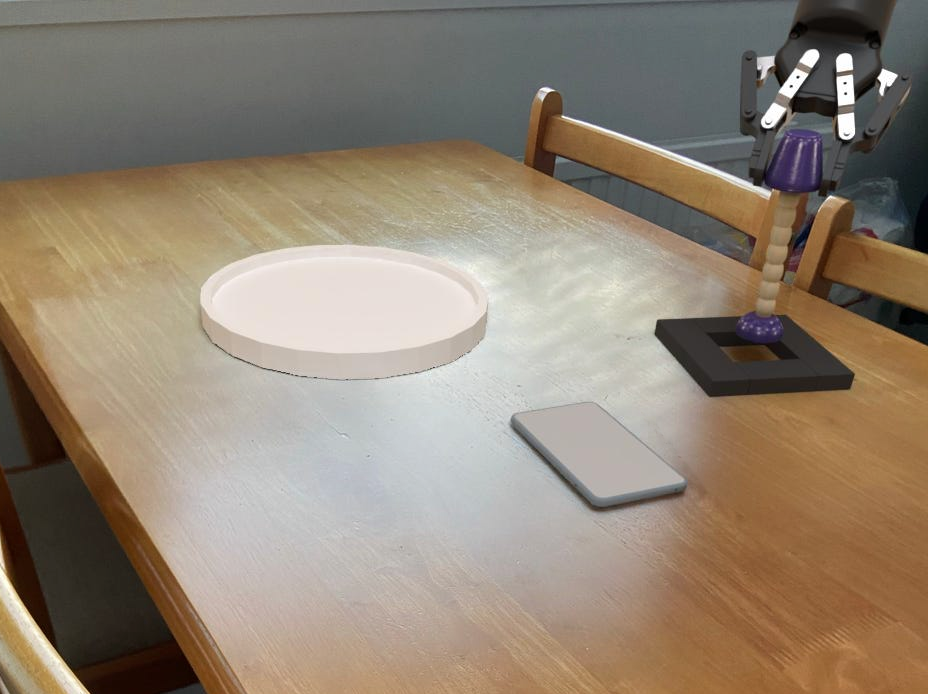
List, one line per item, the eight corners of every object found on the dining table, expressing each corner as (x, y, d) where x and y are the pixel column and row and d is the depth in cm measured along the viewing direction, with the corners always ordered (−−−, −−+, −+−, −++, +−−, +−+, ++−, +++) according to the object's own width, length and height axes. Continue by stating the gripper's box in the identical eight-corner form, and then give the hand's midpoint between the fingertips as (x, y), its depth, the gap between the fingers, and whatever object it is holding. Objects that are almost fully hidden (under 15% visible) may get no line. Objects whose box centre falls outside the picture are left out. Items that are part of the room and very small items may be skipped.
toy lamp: (729, 340, 90) (778, 136, 79) (726, 319, 93) (773, 122, 82) (784, 346, 89) (841, 142, 78) (779, 325, 93) (833, 128, 82)
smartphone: (594, 399, 86) (693, 482, 76) (593, 409, 87) (690, 493, 76) (507, 413, 84) (596, 501, 73) (506, 423, 84) (594, 513, 74)
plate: (143, 311, 99) (140, 286, 97) (353, 249, 115) (353, 227, 114) (336, 410, 85) (336, 383, 83) (544, 323, 101) (547, 299, 99)
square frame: (778, 343, 100) (786, 314, 98) (845, 405, 90) (855, 373, 88) (651, 349, 97) (656, 319, 96) (705, 413, 87) (713, 381, 86)
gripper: (764, -52, 81) (703, 145, 80) (953, -34, 77) (890, 173, 76) (759, 16, 88) (702, 197, 87) (931, 36, 84) (873, 226, 83)
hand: (790, 185), depth 81 cm, fingers closed on toy lamp, 4 cm apart
